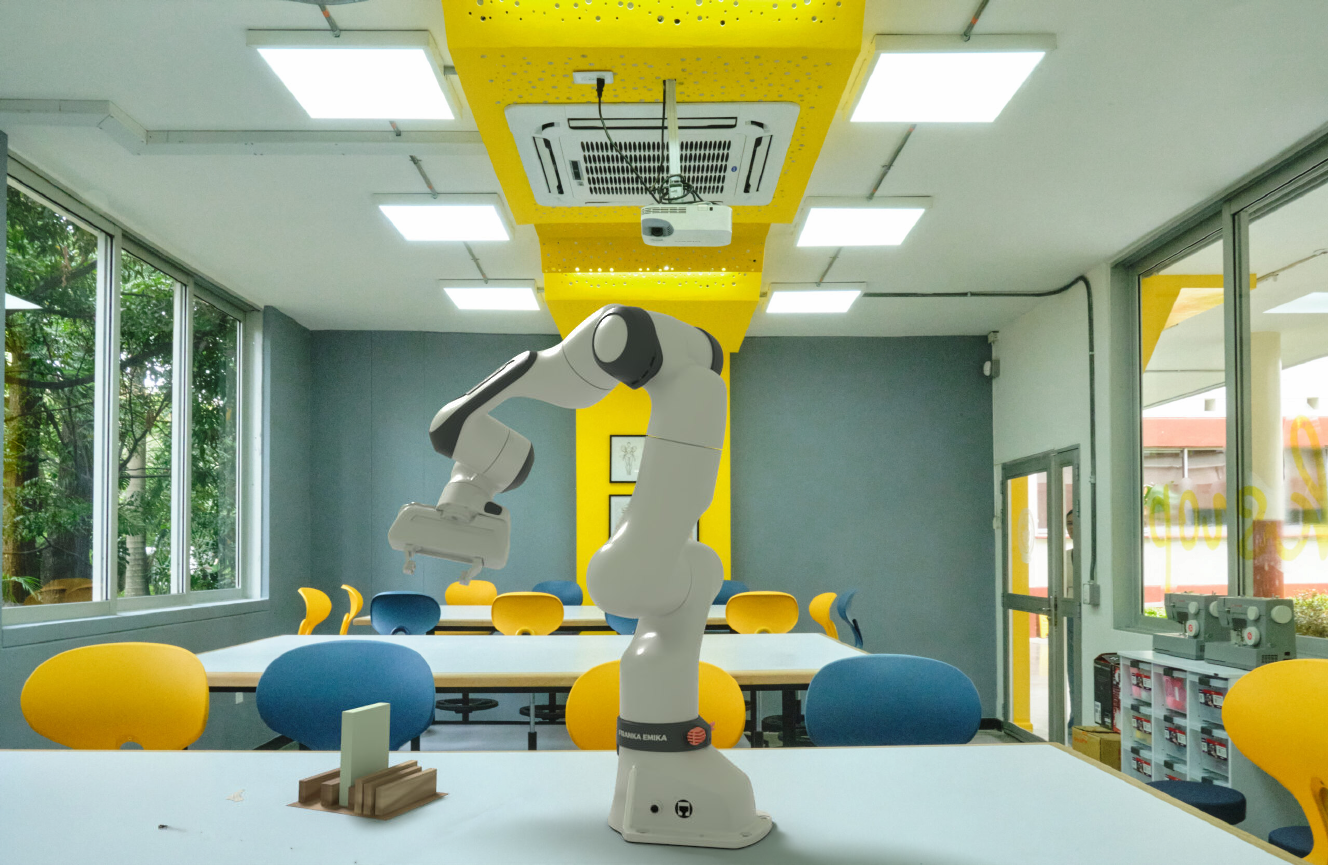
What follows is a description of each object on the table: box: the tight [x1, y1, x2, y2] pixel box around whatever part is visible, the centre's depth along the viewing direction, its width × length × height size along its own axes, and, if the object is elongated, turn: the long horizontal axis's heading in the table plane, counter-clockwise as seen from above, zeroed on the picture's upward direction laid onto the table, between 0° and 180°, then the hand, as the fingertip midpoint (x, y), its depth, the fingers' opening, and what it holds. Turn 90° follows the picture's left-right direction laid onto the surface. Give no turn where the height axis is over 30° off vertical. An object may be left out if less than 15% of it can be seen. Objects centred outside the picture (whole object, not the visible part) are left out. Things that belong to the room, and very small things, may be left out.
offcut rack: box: [285, 759, 450, 821], centre depth 134 cm, size 18×14×6 cm
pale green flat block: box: [339, 702, 391, 806], centre depth 135 cm, size 2×8×13 cm, turn 157°
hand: (435, 577), depth 150 cm, fingers open, 8 cm apart
